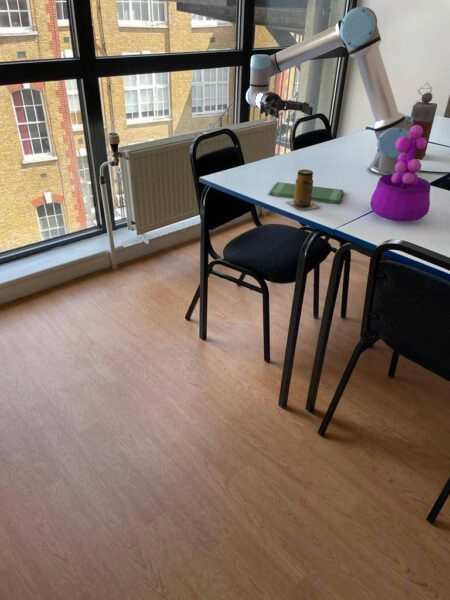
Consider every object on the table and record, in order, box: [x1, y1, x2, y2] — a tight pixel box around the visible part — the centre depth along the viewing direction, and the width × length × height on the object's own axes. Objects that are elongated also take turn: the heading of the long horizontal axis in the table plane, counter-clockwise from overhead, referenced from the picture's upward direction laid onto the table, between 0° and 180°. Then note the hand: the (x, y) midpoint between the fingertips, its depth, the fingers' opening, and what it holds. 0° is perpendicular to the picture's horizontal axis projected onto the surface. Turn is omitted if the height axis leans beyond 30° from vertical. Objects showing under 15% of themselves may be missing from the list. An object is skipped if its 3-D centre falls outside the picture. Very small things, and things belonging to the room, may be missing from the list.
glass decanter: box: [406, 91, 438, 161], centre depth 212 cm, size 9×11×28 cm
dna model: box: [414, 81, 433, 104], centre depth 224 cm, size 7×6×30 cm
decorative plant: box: [369, 125, 431, 223], centre depth 148 cm, size 19×18×30 cm
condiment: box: [288, 168, 318, 211], centre depth 161 cm, size 7×8×12 cm
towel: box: [269, 181, 344, 205], centre depth 174 cm, size 26×12×1 cm, turn 71°
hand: (294, 112), depth 164 cm, fingers open, 13 cm apart
